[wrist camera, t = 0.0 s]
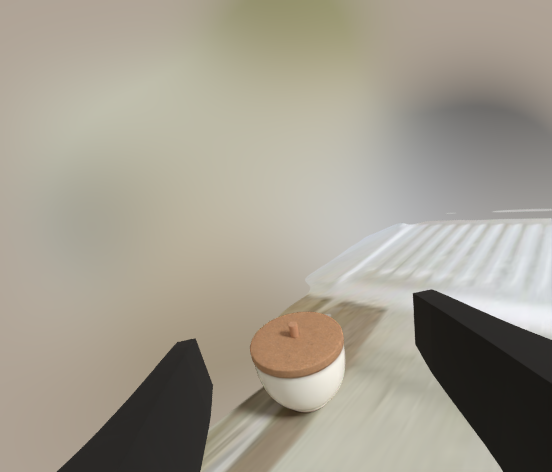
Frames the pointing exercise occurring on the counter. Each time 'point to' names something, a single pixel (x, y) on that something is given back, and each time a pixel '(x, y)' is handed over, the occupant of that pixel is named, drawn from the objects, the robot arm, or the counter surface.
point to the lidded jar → (300, 359)
